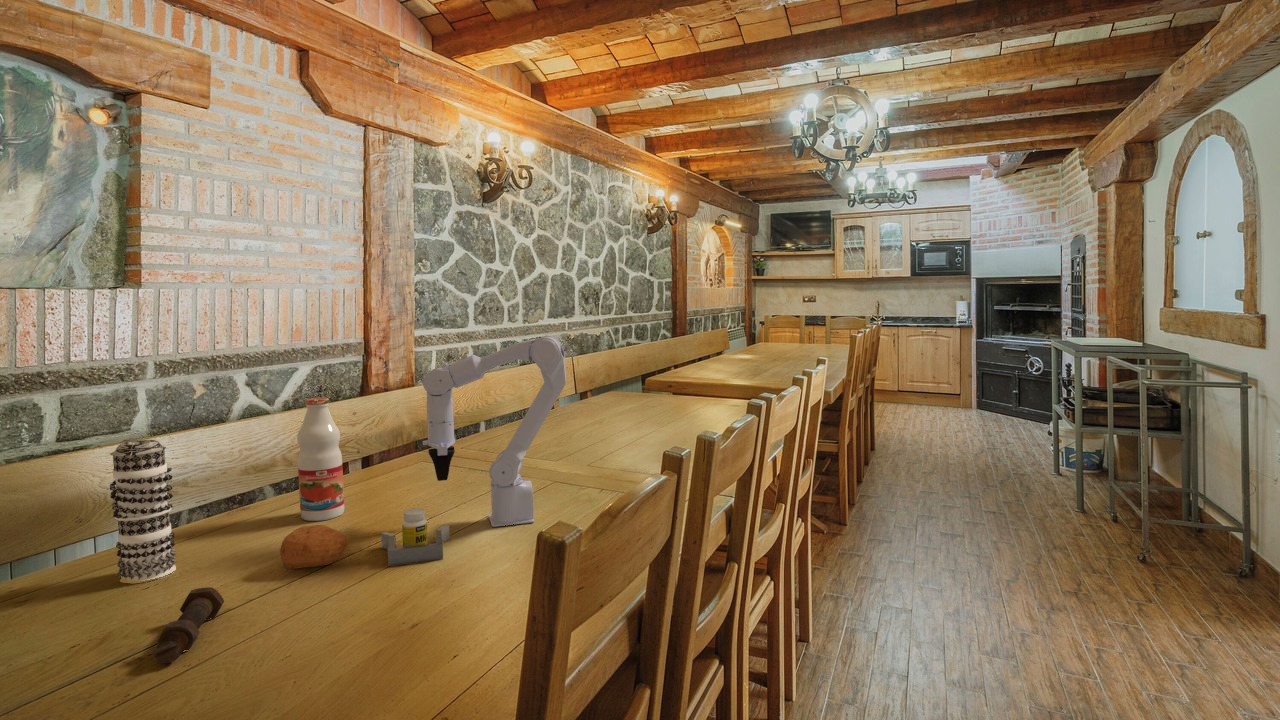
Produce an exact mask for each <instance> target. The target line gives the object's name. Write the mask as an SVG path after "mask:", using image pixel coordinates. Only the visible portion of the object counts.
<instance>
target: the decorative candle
mask: <svg viewBox="0 0 1280 720" xmlns="http://www.w3.org/2000/svg"><path fill="white" fill-rule="evenodd" d="M166 449H167V446H165V445H162V444H161V443H160V442H159V441H158V440H155V439H139V440H132V441H126V442H122V443H120V444H119V445H117V446H116V449H115V450H114V451H112V452H110V454H109V455H110V456H112V463H113V464H112V465H113V469H112V478H113V479H114V480H113V481H112V482H111V483H110V484H109V490H110V491H111V492H110V496H109V498H110V499H113V500H114V502H113V503H112V504H111V506H112V507H111V509H113V512H112V514H113V515H112V517H113V518H114V520H116V521H117V523H118V524H117V525H118V526H117V527H118V532H117V542H116V545H115V547H116V549H119V550H117V551H116V556H117V557H120V558H119V559H118V560H117V563H116V564H117V567H118V571H117V575H119V577H120V576H122V577H123V578H125V579H127V580H132V581H138V580H139V581H145V580H150V579H155V578H159V577H163V576H165V575H168V574H170V573H172V572H173V571H175V570H176V571H177V567H176V566H177V565H176V563H177V558H176V557H175V556H176V555H177V553H176V551H177V550H176V549H174V548H173V547H174V546H176V544H175V542H176V541H175V540H173V539H174V538H175V533H174V532H173V531H172V523H171V521H170V512H171V511H172V508H173V504H171V503H169V502H168V500H171V499H172V498H173V497H174V496H173V494H172V493H171V492H170V491H171V490H173V486H172V485H169V483H167V481H168V482H169V481H171V480H172V479H173V475H172V474H170V472H172V467H168V465H167V464H168V463H167V462H166V451H165V450H166ZM169 492H170V493H169ZM176 571H175V572H176ZM173 573H174V572H173ZM173 573H172V574H173ZM168 576H169V575H168Z"/></svg>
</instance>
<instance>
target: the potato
mask: <svg viewBox="0 0 1280 720" xmlns="http://www.w3.org/2000/svg"><path fill="white" fill-rule="evenodd" d="M348 545H349V539H348V537H347V536H346V535H345V534H344V533H343V532H342V531H340V530H337V529H334V528H331V527H329V526H327V525H324V524H313V525H305V526H304V525H303V526H300V527H298V528H296V529H294V530H293V531H291V532H290V533H289V534H287V535H286V536H285V537H284V539H283V540H282V541H281V545H280V548H279V554H280V561H281V563H282V565H284V566H285V567H286V568H287V569H300V568H315V567H322V566H328V565H330V564H333V563H335V562H337V560H338V559H340V558H341V557H342V555H343V554H344V552H345V551H346V549H347V547H348Z"/></svg>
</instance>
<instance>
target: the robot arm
mask: <svg viewBox="0 0 1280 720" xmlns="http://www.w3.org/2000/svg"><path fill="white" fill-rule="evenodd" d="M461 358H462V359H458V360H455V361H452V362H450V363H448V362H445V363H442V364H441V366H442V367H437V368H433V369H431V370H429V371H428V372H427V373H426V374H425V375H424V377H423V379H422V386H423V388H424V390H425V392H426V421H427V422H426V424H427V439H426V440H422V445H423V446H429V447H431V448H429V449H428V455H429V458H430V459H431V460H432V463H433V467H434V471H435V475H436V480H437V481H438V482H441V481H447V480H448V478H449V473H450V466H451V462H452V459H453V456H454V454H455V452H456V450H455V447H454V446H453V445H455V443H456V438H455V426H454V425H455V422H454V421H455V420H454V400H453V388H455V389H457V388H460V387H463V386H465V385H469V384H471V383H474V382H477V381H478V380H481V379H483V378H484V376H485V374H486V372H487V371H488V370H491V369H494V368H497V367H499V366H502V365H505V364H509V363H511V362H514V361H517V360H519V361H525V362H530V361H531V360H533V362H534V363H535V364H536V366H537V367H538V368H539V369H540V374H541V376H542V378H543V384H542V386H541V388H540V389H539V391H538V392H537V394H536V395H535V398H534V400H533V401H532V403H531V405H530V406H529V408H528V410H527V412H525V413H526V414H525V415H524V416H523V419H522V420H521V422H520V424H519V425H518V427H517V428H516V430H515V432H514V434H513V436H512V437H511V439H510V441H509V443H507V446H506V448H505V449H504V450H502V451H500V452H499V453H498V454H497V456H496V458H495V460H494V461H493V462H492V463H491V465H490V467H489V471H488V473H489V478H490V479H491V480H490V497H491V498H490V501H491V502H490V503H491V513H490V514H489V513H488V515H487V516H488V519H489V523H490V525H491V527H492V528H495V527H496V528H497V527H503V526H504V527H505V525H506V526H512V525H513V524H514V525H522V524H529V523H535V519H534V514H535V513H534V511H535V510H534V489H533V484H532V481H531V480H523V477H522V475H521V474H520V473H519V472H520V471H521V470H522V468H523V464H524V463H523V461H524V460H523V459H524V458H525V455H526V453H527V452H528V450H529V448H530V447H531V445H532V443H533V441H534V439H535V438H536V436H537V434H538V433H539V431H540V429H541V427H542V425H544V422H545V421H546V419H547V417H548V415H549V414H550V412H551V411H552V408H553V407H554V406H555V403H556V401H557V400H558V398H559V396H560V395H561V393H562V391H563V390H564V388H565V386H566V383H567V380H568V379H567V369H566V368H567V367H566V353H565V350H564V348H563V346H562V344H561V342H560V340H559V339H558V338H557V337H555V336H552V335H544V336H541V337H540V338H532V339H529V340H528V339H527V340H524V341H520V342H517V343H514V344H512V345H510V346H507V347H505V348H503V349H500V350H497V351H495V352H492V353H490V354H489V355H488V354H487V355H485V356H483V357H479V355H478V356H477V355H475V354H471V355H469V354H468V353H466V354H464V355H462V356H461Z"/></svg>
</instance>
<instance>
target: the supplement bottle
mask: <svg viewBox="0 0 1280 720" xmlns="http://www.w3.org/2000/svg"><path fill="white" fill-rule="evenodd" d="M425 517H426V511H425V509H424V508H420V507H418V508H417V507H415V508H410V509H406V510H404V511H403V521H402V523H401V531H402V533H401V534H402V547H410V546H418V545H426V544H428V521H427V519H426V518H425Z"/></svg>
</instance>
